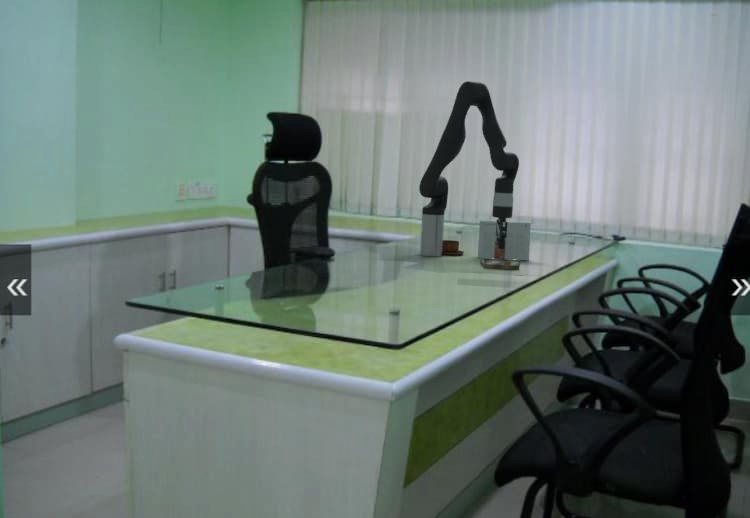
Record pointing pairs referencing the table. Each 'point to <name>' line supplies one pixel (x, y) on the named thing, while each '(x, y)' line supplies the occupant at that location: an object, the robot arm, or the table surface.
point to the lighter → (499, 250)
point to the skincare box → (514, 241)
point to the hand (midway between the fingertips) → (500, 247)
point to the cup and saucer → (451, 248)
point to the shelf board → (500, 263)
